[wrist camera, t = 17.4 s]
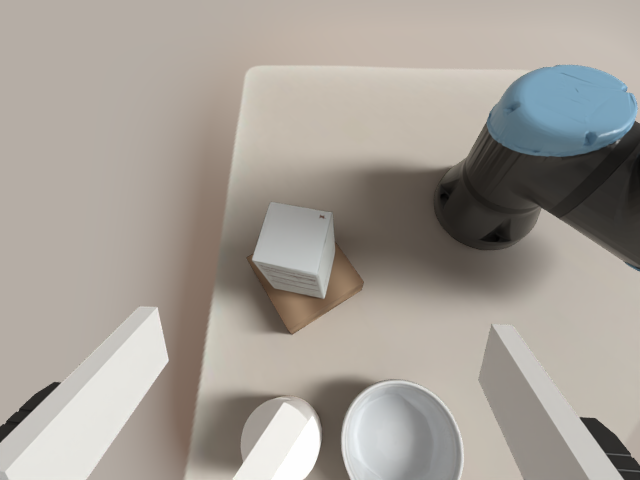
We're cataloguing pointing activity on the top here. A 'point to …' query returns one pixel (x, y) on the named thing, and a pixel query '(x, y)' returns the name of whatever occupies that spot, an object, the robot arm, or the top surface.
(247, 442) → the cylinder with rectangular tab
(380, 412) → the ramekin
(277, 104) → the top surface
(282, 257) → the supplement box
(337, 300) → the walnut block
